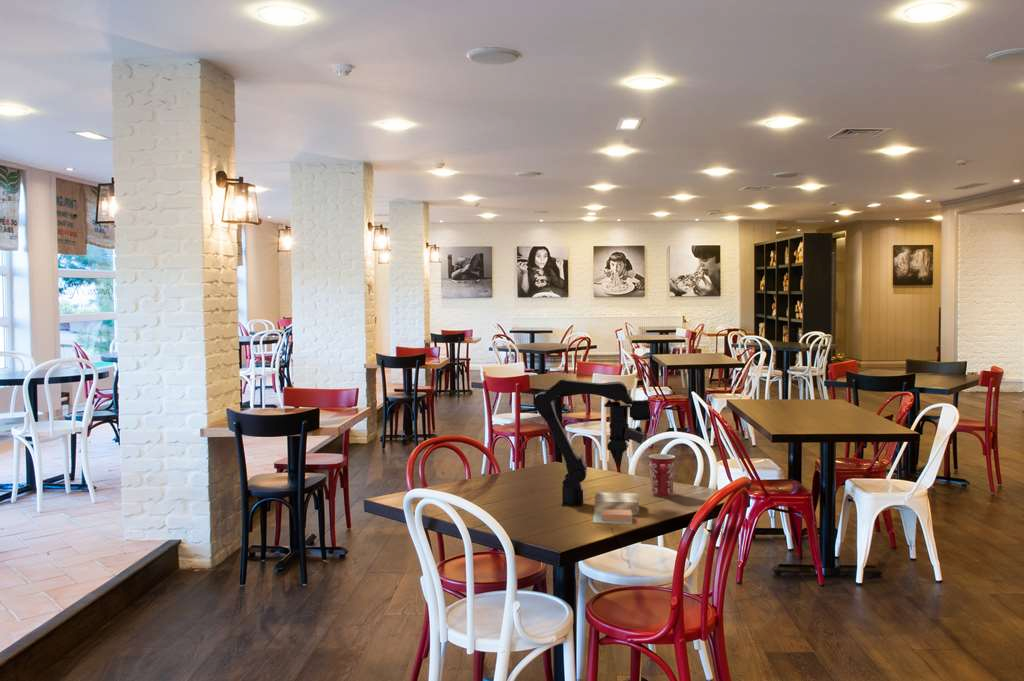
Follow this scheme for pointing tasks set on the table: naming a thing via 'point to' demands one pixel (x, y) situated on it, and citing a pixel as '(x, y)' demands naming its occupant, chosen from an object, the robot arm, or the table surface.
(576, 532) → the table surface
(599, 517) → the mat
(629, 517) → the flat rectangular block
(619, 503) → the deck
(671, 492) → the mug
